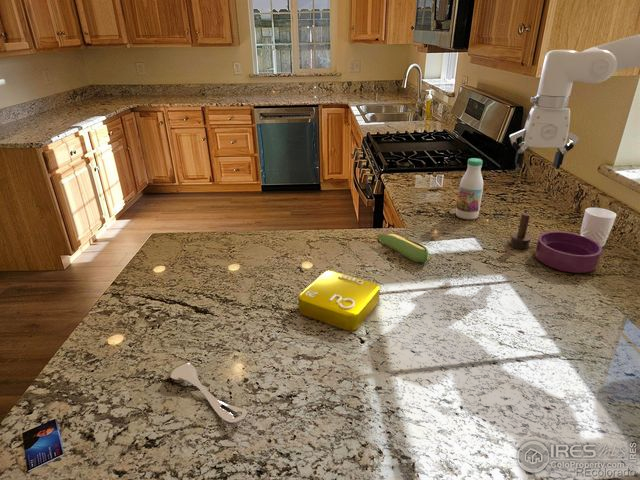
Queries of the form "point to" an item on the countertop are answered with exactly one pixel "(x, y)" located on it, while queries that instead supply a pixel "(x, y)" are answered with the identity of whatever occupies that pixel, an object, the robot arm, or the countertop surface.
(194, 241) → the countertop surface
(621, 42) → the robot arm
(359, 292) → the element tile
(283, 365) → the countertop surface
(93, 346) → the countertop surface
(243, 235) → the countertop surface
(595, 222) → the white cup
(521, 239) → the dish brush
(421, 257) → the edible corn
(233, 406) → the white kitchen utensil
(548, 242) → the bowl
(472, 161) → the milk bottle
